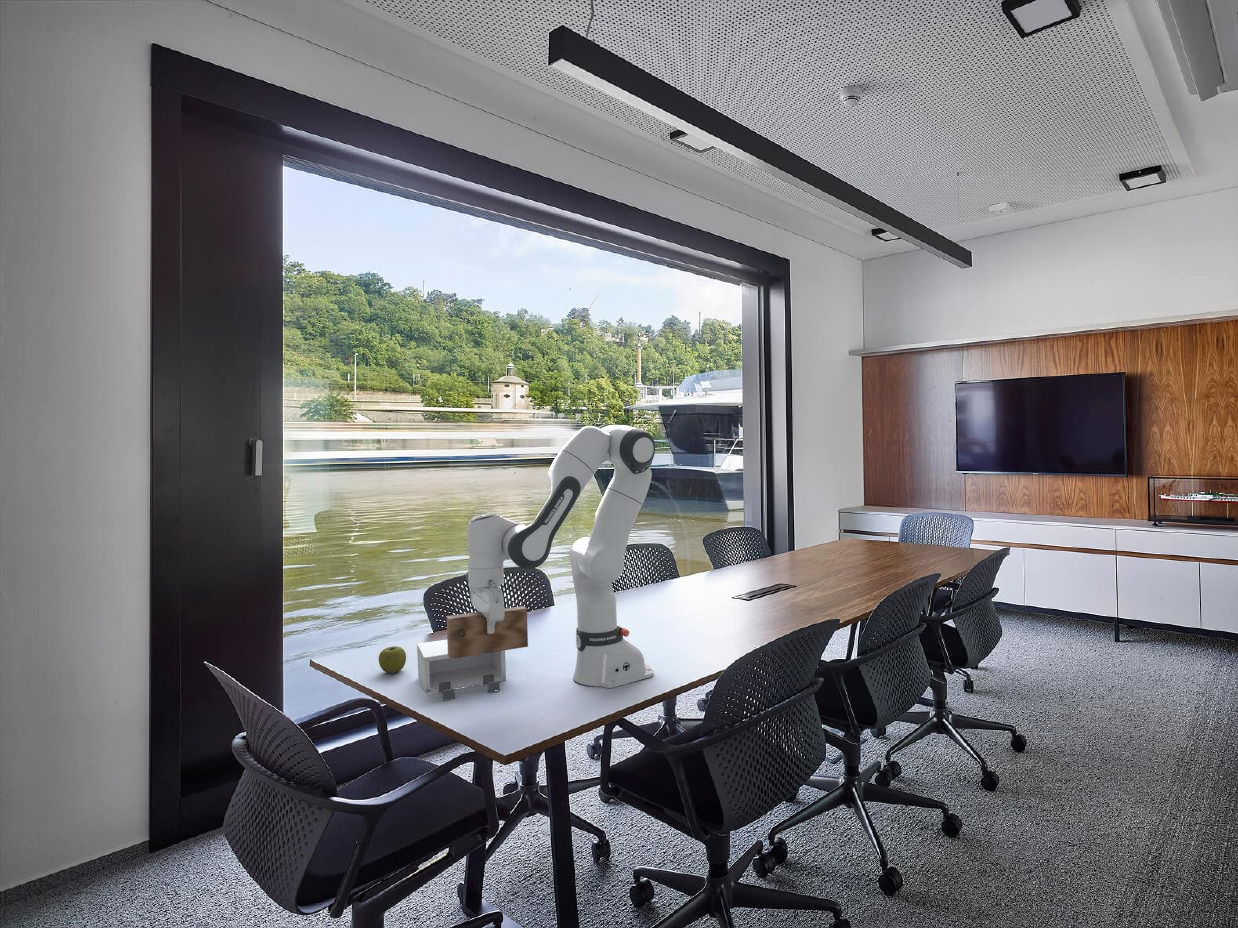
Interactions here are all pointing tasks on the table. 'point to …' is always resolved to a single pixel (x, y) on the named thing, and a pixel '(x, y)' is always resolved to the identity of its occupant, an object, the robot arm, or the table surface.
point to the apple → (392, 659)
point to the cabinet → (457, 669)
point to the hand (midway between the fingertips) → (488, 630)
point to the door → (473, 639)
